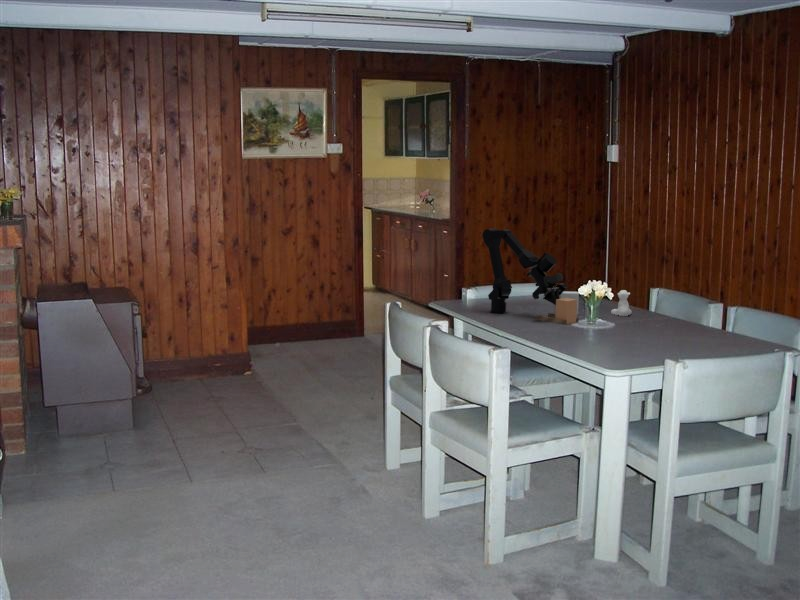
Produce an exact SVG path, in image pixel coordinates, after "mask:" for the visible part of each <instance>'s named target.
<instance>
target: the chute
mask: <svg viewBox="0 0 800 600" xmlns="http://www.w3.org/2000/svg"><path fill="white" fill-rule="evenodd" d="M555 316H556V313H552V312H547V316H546V315H540V314H539V315H538V314H536V315H535V320H537V321H541V322H542V321H543V322H547V323H548V322H549V323H554V324H559V325H565V326H566V325H568V324H567V320H563V319H557V318H555ZM579 320H580V318H579V317H576V322H575V323H579V322H580V321H579Z"/></svg>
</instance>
